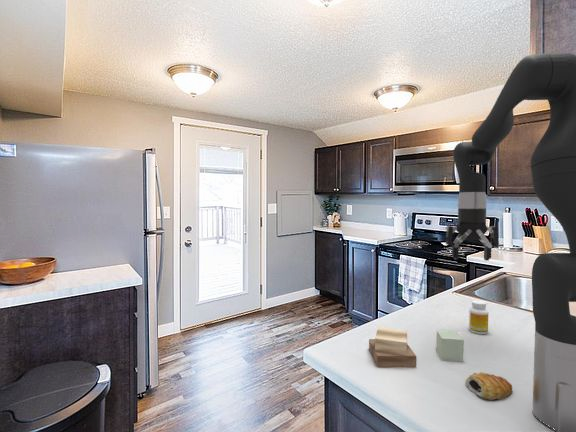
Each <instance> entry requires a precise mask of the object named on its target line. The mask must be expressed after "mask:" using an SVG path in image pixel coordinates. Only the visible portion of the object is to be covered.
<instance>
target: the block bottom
mask: <svg viewBox="0 0 576 432" xmlns="http://www.w3.org/2000/svg"><path fill="white" fill-rule="evenodd" d="M368 350H369V352H370V354H371V357H372V358H374V359H373V360H375V361H374V363H375V364H376V367H377V368H417V355H416V354H415V352H414V351H413V349H412V348H411V347H410V345H408V343H407V356H404V355H398V354H392V353H385V352H379V351H375V338H369V339H368Z"/></svg>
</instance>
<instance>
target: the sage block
mask: <svg viewBox="0 0 576 432" xmlns="http://www.w3.org/2000/svg"><path fill="white" fill-rule="evenodd" d="M435 345H436V346H435V348H436V349H435V350H436V353H437V354H438V356H439V357H440V360H442V361H451V362H452V361H453V362H464V350H465V349H464V347H465V339H464V338H463V337H462V336H461V334H460V333H459V332H458V331H456V330H455V331H453V330H441V329H440V330H439V329H436V343H435Z"/></svg>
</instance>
